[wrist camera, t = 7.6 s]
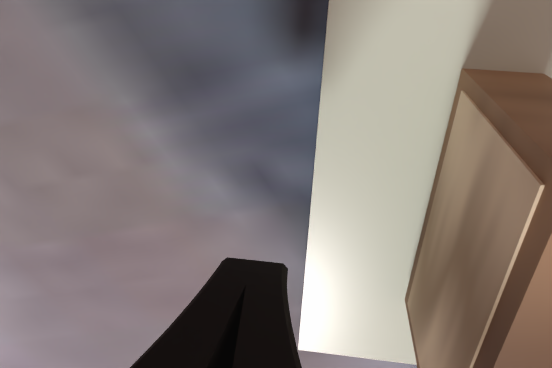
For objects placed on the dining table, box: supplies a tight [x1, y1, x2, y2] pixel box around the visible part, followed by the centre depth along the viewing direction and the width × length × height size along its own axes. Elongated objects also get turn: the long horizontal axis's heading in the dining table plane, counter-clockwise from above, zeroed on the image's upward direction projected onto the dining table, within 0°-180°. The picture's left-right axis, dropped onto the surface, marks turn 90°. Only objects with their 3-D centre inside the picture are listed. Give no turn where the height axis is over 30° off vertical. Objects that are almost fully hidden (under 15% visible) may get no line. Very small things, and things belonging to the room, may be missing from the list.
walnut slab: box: [405, 68, 552, 368], centre depth 10 cm, size 8×2×6 cm, turn 178°
